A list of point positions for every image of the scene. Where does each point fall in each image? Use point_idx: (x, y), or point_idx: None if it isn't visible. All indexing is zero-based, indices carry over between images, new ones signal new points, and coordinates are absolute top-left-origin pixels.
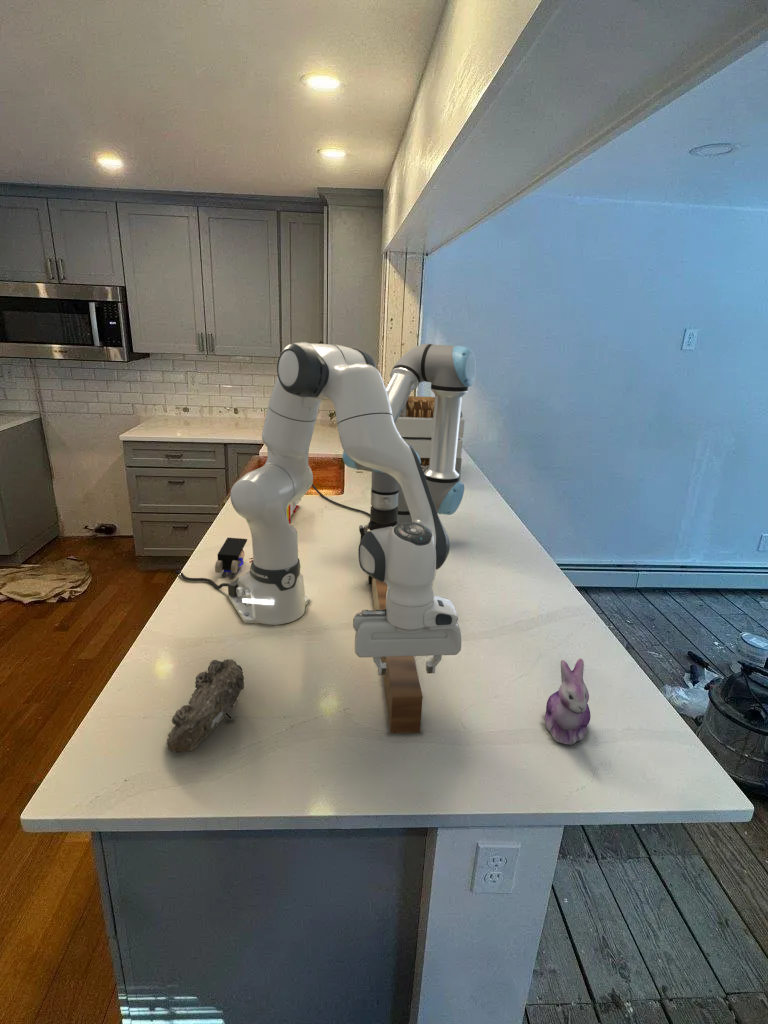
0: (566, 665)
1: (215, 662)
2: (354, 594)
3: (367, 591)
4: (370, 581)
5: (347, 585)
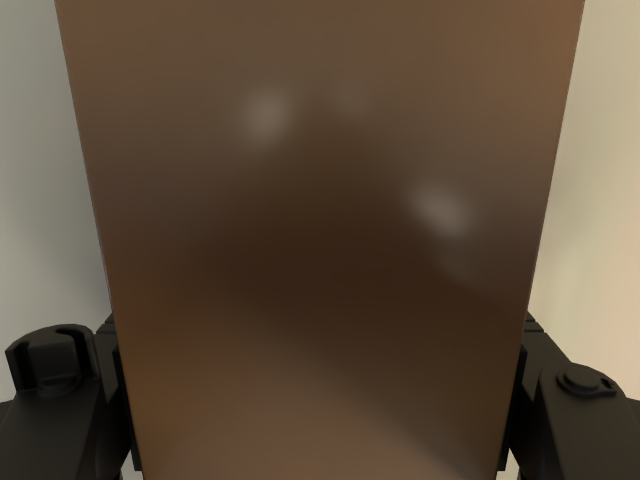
0: None
1: None
2: (603, 47)
3: None
4: None
5: (623, 231)
